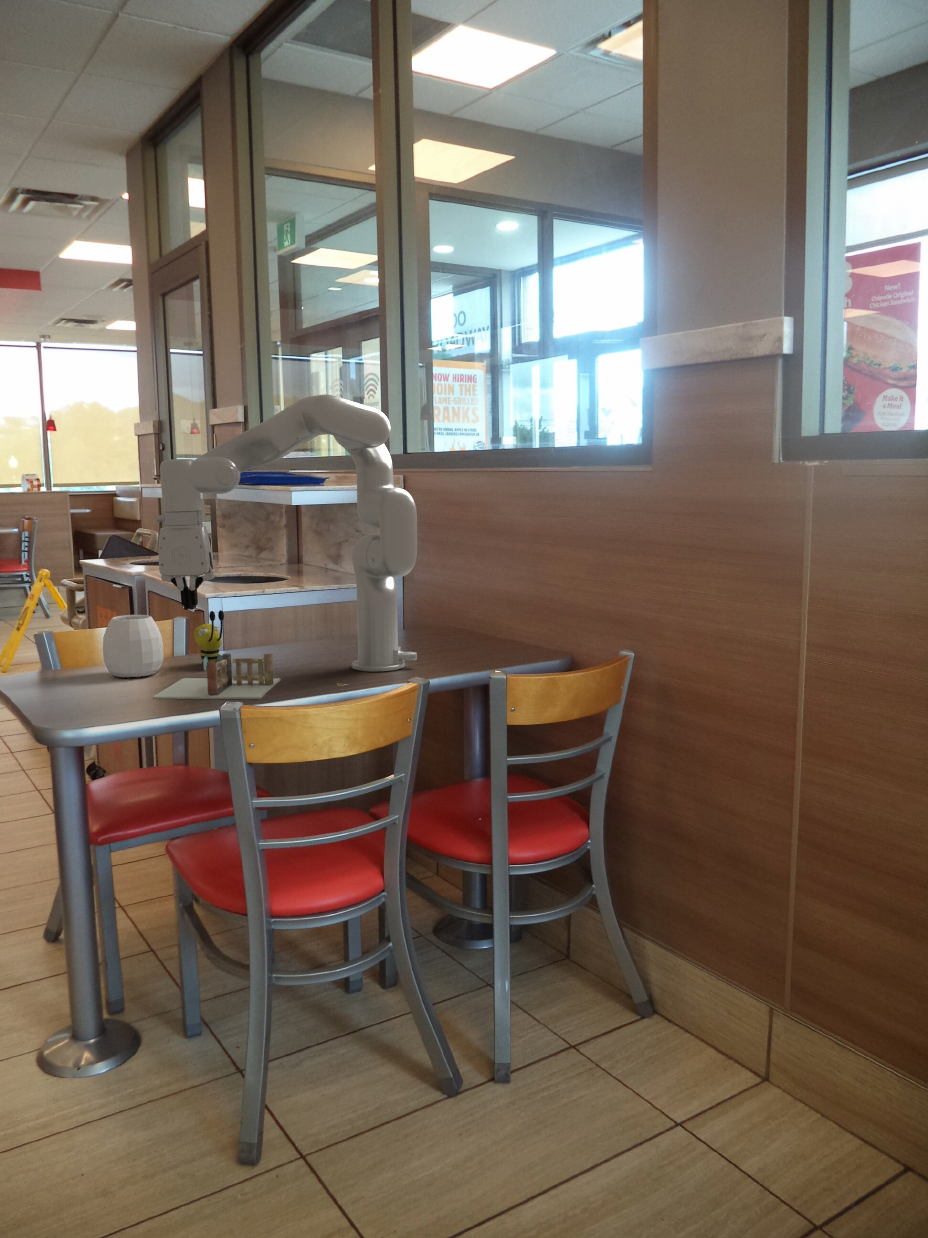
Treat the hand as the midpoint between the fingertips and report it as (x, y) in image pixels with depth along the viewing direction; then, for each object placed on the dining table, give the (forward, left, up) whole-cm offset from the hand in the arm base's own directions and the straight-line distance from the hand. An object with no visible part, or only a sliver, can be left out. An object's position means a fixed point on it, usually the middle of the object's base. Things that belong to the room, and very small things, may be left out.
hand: (190, 608), depth 200 cm
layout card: (-4, -4, -18) cm, 19 cm away
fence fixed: (-10, -7, -18) cm, 21 cm away
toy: (+5, -29, -18) cm, 34 cm away
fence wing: (-5, 0, -17) cm, 18 cm away
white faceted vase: (+20, -19, -18) cm, 32 cm away
